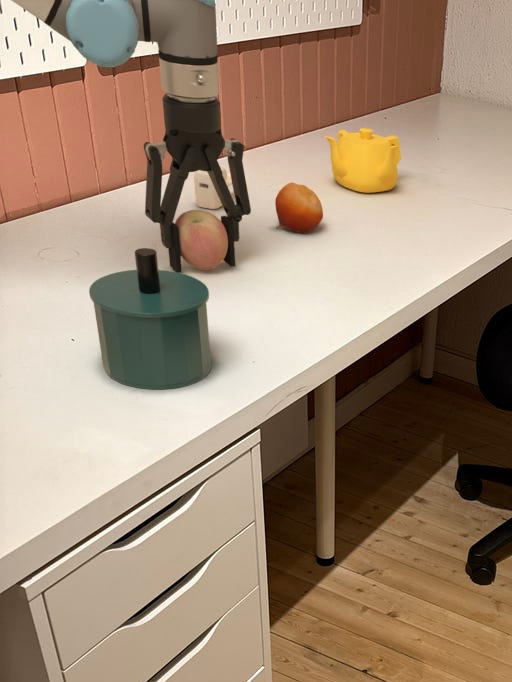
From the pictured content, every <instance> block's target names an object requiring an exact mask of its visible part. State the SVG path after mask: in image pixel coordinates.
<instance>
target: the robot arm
mask: <svg viewBox="0 0 512 682" xmlns="http://www.w3.org/2000/svg"><path fill="white" fill-rule="evenodd" d="M10 1H12V2H13V3H14V4H16V5H17V6H19V7H21V8H22V9H23V10H24V11H26V12H28V13H29V14H31V16H33V17H35V18H37V19H38V20H40V21H41V22H43V23H44V24H45V25H46V26H48V27H49V28H50V29H52V30H53V31H55V32H56V33H57V34H59V35H60V36H62V37H64V38H65V39H66V40H68V41H69V42H71V44H72V46H73V47H74V48H75V49H76V51H78V53H79V54H80V55H81V57H83V58H84V59H85V60H87V61H88V62H90V63H91V64H94V65H96V66H98V67H102V68H115V67H119V66H122V65H123V64H125V63H126V62H128V61H129V59H131V58H132V56H133V55H134V53H136V49H137V46H138V44H139V42H145V43H157V48H158V49H157V50H158V51H157V52H158V61H159V62H158V63H159V74H160V75H159V76H160V89H161V90H162V91H163V92H164V93H165V94H164V95H163V97H162V110H163V120H164V121H163V122H164V128H165V132H164V136H163V138H162V141H158V142H154V143H151V142H149V141H145V142H144V143H143V150H144V154H145V157H146V179H145V181H146V182H145V201H144V202H145V205H144V206H145V207H144V215H145V217H147V218H148V219H149V220H150V221H151V222H153V223H154V224H159V230H160V240H161V244H162V246H163V247H165V249H168V260H169V262H168V263H169V267H170V268H171V269H172V270H173V271H174V272H177V273H183V269H182V256H181V255H180V243H179V231H178V226H177V225H176V224H175V222H174V220H175V216H176V213H177V210H178V205H179V203H180V199H181V195H182V192H183V189H184V186H185V183H186V180H187V179H188V178H189V176H190V175H189V174H190V173H195V172H196V171H198V170H201V171H207V172H208V174H209V176H210V179H211V181H212V183H213V185H214V188H215V190H216V192H217V194H218V197H219V199H220V201H221V203H222V206H221V207H222V208H223V211H224V212H225V214H226V215H221V216H220V221H221V222H222V224H223V225H224V227H225V229H226V232H227V236H228V249H227V253H226V256H225V258H224V260H223V261H222V262H224V263H225V264H226V265H228V266H229V267H236V251H235V248H236V247H235V243H236V242H239V241H240V223H241V222H242V220H243V216H248V215H250V214H252V213H251V211H252V209H251V203H250V197H249V192H248V191H249V190H248V185H247V181H246V174H245V169H244V168H245V167H244V163H243V158H244V152H245V151H244V149H245V146H244V144H243V143H242V142H240V141H239V140H237V139H236V138H230V139H227V138H224V136H223V133H222V113H221V101H220V100H219V98H218V97H217V96H219V95H220V76H219V58H218V33H217V10H216V8H217V7H216V6H217V3H216V0H10ZM223 151H224V154H225V155H226V156H227V163H228V168H229V172H230V174H231V180H232V185H231V186H232V189H233V195H234V196H232V194H231V191H230V189H229V187H227V184H226V182H225V180H224V177H223V175H222V170H221V168H220V167H221V166H220V163H219V161H218V160H219V157H220V156H221V154H222V152H223ZM166 152H167V153H168V154H169V155H170V157H171V158H172V159H171V163H170V167H169V171H170V172H169V176H168V179H167V182H166V186H165V188H164V189H165V190H164V193H163V196H162V184H163V183H162V182H163V161H164V160H165V154H166ZM233 197H234V199H233ZM234 200H235V201H234Z"/></svg>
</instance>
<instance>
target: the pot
mask: <svg viewBox="0 0 512 682" xmlns="http://www.w3.org/2000/svg"><path fill="white" fill-rule="evenodd" d="M93 309H94V314H95V321H96V327H97V333H98V340H99V347H100V354H101V360H102V361H101V362H102V366H103V368H104V371H105V373H106V374H107V376H108V377H109V378H111V379H112V380H113V381H115V382H116V383H119V384H122V385H125V386H128V387H132V388H137V389H144V390H172V389H179V388H183V387H187V386H191V385H193V384H196V383H198V382H200V381H202V380H203V379H205V378H206V377H207V375H209V373H210V371H211V369H212V361H211V360H212V359H211V347H210V334H209V319H208V308H207V302H206V303H205V304H204V305H203V306H202V307H200V308H199V309H197V310H194V311H192V312H189V313H186V314H181V315H176V316H170V317H157V318H146V317H133V316H126V315H121V314H117V313H113V312H110V311H107V310H105V309H103V308H101V307H99V306H97V305H96V304H95V303H94V302H93Z"/></svg>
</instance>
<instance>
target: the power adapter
mask: <svg viewBox="0 0 512 682" xmlns="http://www.w3.org/2000/svg"><path fill="white" fill-rule="evenodd" d="M220 168H221V170H222V175H223V177H224V180H225V182H226V184H227V187H228V188H229V187H231V186H233V185H232V180H231V174H230V171H227V170H226V168H225V167H222V166H220ZM193 184H194V195H195V204H196V205H197V206H198V207H200V208H204V209H209V210H217V209H220V208H221V207H223V206H222V203H221V201H220V199H219V197H218V194H217V192H216V190H215V188H214V185H213V183H212V181H211V179H210V176H209V174H208V172H207V171H201V170H198V171H195V172H194V175H193Z"/></svg>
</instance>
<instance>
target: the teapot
mask: <svg viewBox="0 0 512 682" xmlns="http://www.w3.org/2000/svg"><path fill="white" fill-rule="evenodd" d="M323 137H324V138H325V139H326V140H327V142H328V143H329V147H330V164H331V172H332V175H333V177H334V179H335V181H336V182H337V183H338V184H339V185H341V186H343V187H345V188H346V189H349V190H352V191H355V192H360V193H368V194H369V193H380V192H386V191H390V190H392V189H393V188H394V187H395V186H396V184H397V182H398V180H399V179H398V178H399V177H398V176H399V173H398V164H399V163H400V161H402V154H401V146H400V137H398V136H396V135H388V136H385V137H383V136H381V135H378V134H375V133H374V130H373V129H371V128H367V127H361V128H359V132H358V131H357V132H349V131H347V130H345V129H340V130H339V131H337V140H336V139H335V138H334V137H331V136H326V135H324V136H323Z"/></svg>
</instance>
